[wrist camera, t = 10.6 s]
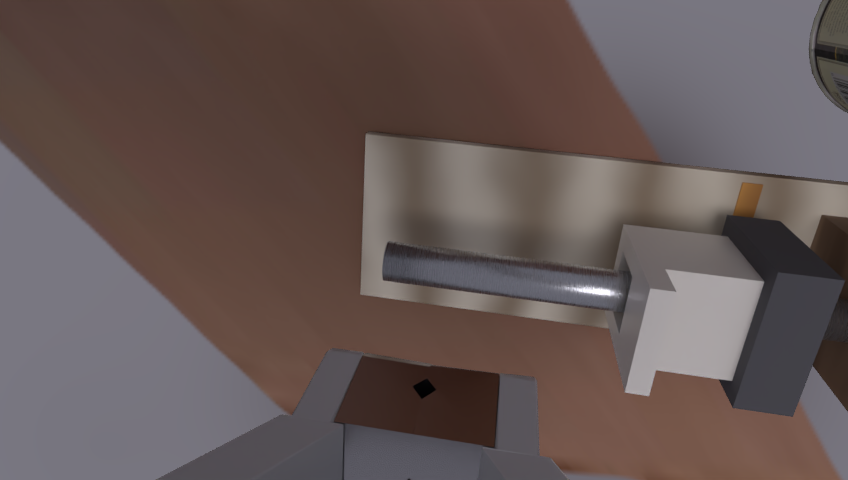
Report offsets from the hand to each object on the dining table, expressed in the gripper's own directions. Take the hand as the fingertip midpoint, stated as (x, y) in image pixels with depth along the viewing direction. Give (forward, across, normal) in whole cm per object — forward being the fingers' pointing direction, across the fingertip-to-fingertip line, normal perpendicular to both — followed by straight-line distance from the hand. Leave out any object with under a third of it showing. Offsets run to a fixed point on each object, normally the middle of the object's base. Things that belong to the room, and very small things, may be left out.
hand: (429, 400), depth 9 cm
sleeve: (+28, -11, +10) cm, 32 cm away
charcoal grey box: (+29, -16, +10) cm, 35 cm away
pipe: (+26, -8, +10) cm, 29 cm away
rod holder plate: (+32, -10, +10) cm, 35 cm away
